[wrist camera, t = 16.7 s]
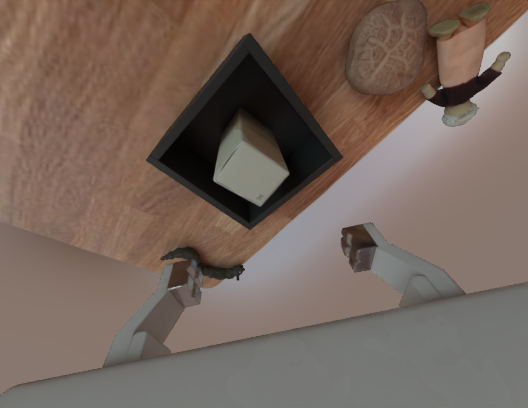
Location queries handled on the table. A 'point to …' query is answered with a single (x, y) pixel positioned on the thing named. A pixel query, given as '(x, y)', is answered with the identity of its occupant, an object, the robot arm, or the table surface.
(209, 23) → the table surface
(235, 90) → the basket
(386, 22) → the mushroom
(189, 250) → the toy
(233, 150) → the box
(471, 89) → the grandmother figurine
